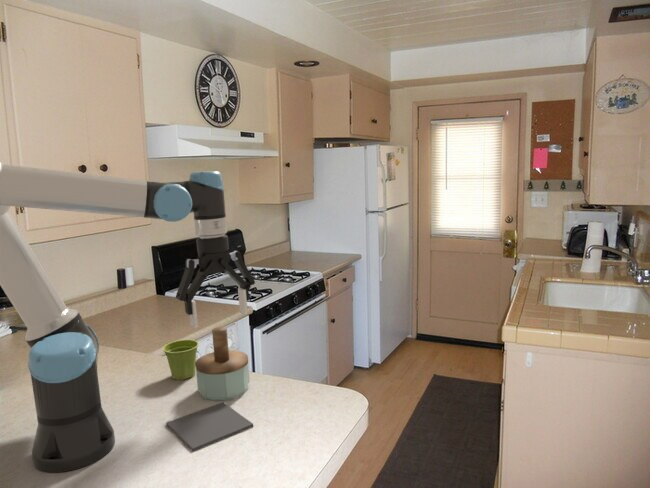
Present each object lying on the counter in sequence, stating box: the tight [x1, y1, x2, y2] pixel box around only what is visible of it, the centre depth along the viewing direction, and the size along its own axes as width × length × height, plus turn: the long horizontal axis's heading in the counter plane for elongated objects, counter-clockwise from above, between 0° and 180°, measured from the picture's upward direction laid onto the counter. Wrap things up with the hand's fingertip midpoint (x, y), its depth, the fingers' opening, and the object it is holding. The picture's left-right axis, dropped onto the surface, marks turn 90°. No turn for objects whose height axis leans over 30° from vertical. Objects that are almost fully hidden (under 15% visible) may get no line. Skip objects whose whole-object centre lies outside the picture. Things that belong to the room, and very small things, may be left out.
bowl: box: [195, 363, 250, 402], centre depth 129 cm, size 12×12×7 cm
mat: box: [165, 401, 254, 452], centre depth 112 cm, size 14×14×1 cm
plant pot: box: [162, 339, 200, 381], centre depth 139 cm, size 9×9×9 cm
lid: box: [195, 326, 249, 374], centre depth 128 cm, size 13×13×9 cm
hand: (219, 320), depth 127 cm, fingers open, 13 cm apart
